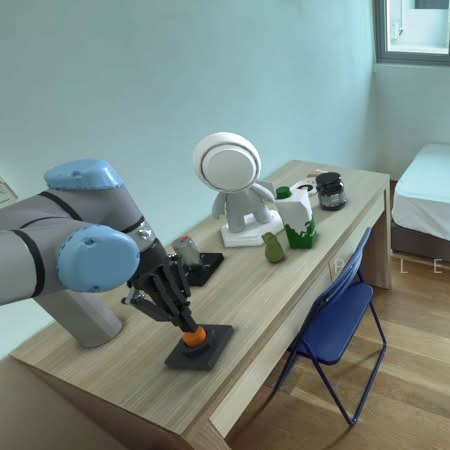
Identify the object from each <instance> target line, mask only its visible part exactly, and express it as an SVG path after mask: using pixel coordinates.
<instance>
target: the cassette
mask: <svg viewBox="0 0 450 450" xmlns="http://www.w3.org/2000/svg"><path fill="white" fill-rule="evenodd" d="M255 183H256V184H259V185H261V186H262V187H264V188H266V189H267V190H269V191H270V192H271V193H272V194H273V196H274V199H275V200H276V197H277V194H276V189H277V188H276V186H275V183H274V181H268V180H265V179H259V178H258V179H257V180H256V182H255ZM256 194H257V193H256ZM257 195H258V194H257ZM258 196H259V197H260V198H262V197H261V196H260V195H258Z"/></svg>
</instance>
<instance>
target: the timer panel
mask: <svg viewBox="0 0 450 450" xmlns="http://www.w3.org/2000/svg"><path fill="white" fill-rule="evenodd" d="M199 253H200V255H201V257H202V259H203V261H204V264H203V266H202V267H200V268H199V269H197V270H194V271H187V270H186V269H185V268H184V266H183V264H182V267H183V270H184V273H185V276H186V279H187V282H188V285H189V287H201V288H203V286H204V285H205V284H206V283H207V281H208V280H209V279H210V278H211V276H212V275H213V274H214V273H215V271H216V270H217V269H218V268H219V266H220V265H221V264H222V263H223V261H224V260H225V256H224V254H223V253H222V252H201V251H199Z"/></svg>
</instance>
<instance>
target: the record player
mask: <svg viewBox="0 0 450 450" xmlns="http://www.w3.org/2000/svg"><path fill="white" fill-rule="evenodd" d="M326 172H327V171H325V170H320V169H315V170H313V171H311V172H310V173H309V174H307V175H306V178H303V179H300V180H299V181H298V182H296V183H294V184H293V185H292V186H290V187H289V189H307V192H308V197H310V196H313V195H314V194H315V193H316V194H317V190H316V185H317V184H316V181H315V179H316V177H317V176H318V175H320V174H322V173H326Z"/></svg>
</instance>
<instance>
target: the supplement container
mask: <svg viewBox="0 0 450 450" xmlns="http://www.w3.org/2000/svg"><path fill="white" fill-rule="evenodd" d="M315 181H316V184H317V185H316V190H317V192H316V194H317V199H318V204H319V207H320V208H321V209H323V210H325V211H336V210H337V211H338V210H340V209H341V208H343V207H344V206H345V205H346V203H347V199H346V192H345V187H344V186H345V184H344V181H342V175H341V174H340V173H339V172H336V171H326V173H322V174H320V175H318V176H317V177H316V179H315Z"/></svg>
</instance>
